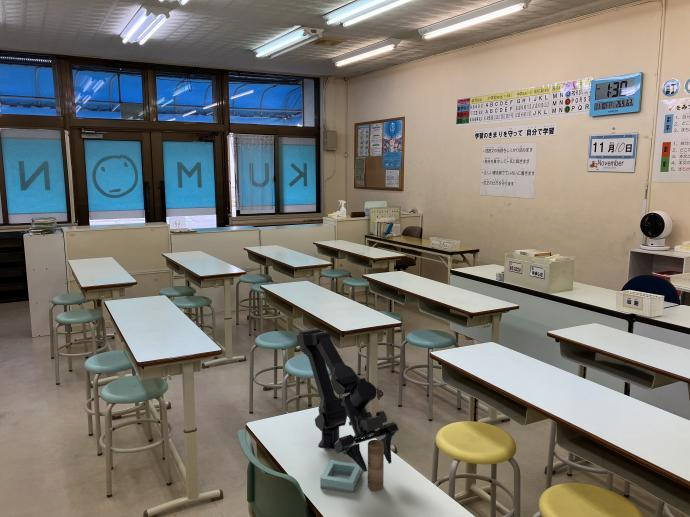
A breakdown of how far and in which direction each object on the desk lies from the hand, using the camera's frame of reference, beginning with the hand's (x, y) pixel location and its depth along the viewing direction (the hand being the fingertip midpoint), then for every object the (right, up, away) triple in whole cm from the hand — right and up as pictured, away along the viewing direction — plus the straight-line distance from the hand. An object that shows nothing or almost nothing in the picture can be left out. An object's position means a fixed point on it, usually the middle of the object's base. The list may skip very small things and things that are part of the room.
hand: (378, 467), depth 148 cm
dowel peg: (-1, -6, +2) cm, 7 cm away
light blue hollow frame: (-10, -6, +7) cm, 13 cm away
